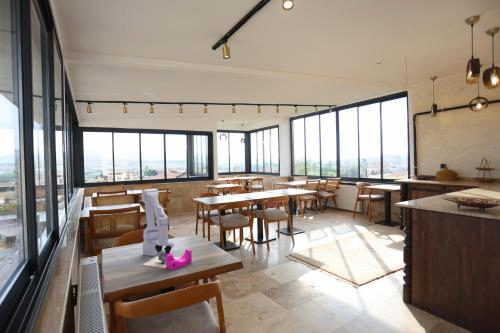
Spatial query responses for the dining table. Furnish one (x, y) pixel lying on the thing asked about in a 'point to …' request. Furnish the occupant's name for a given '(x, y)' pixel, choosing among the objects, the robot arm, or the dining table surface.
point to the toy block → (178, 260)
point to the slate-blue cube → (162, 255)
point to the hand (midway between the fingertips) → (163, 257)
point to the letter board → (156, 263)
